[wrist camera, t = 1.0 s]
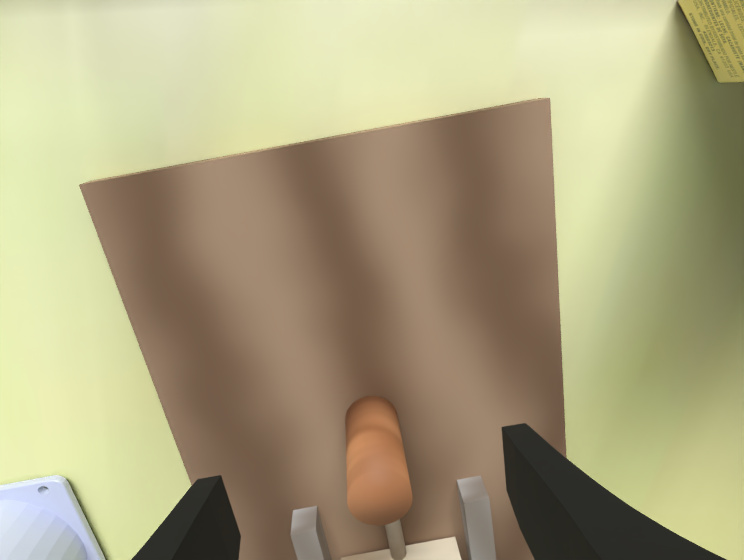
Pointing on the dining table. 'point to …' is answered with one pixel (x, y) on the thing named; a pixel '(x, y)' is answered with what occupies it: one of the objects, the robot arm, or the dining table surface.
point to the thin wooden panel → (351, 320)
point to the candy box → (719, 34)
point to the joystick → (383, 481)
